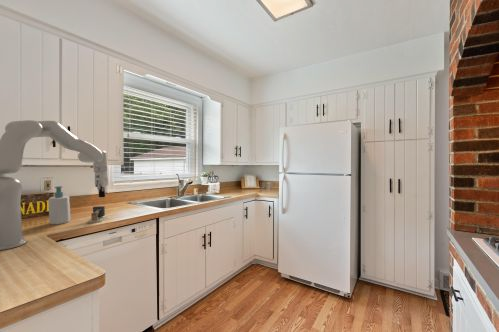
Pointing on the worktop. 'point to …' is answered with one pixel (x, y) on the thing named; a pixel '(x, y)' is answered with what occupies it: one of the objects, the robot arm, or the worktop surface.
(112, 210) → the worktop surface
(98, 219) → the pipe rig
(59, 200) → the soap bottle
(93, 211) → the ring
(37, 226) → the worktop surface
